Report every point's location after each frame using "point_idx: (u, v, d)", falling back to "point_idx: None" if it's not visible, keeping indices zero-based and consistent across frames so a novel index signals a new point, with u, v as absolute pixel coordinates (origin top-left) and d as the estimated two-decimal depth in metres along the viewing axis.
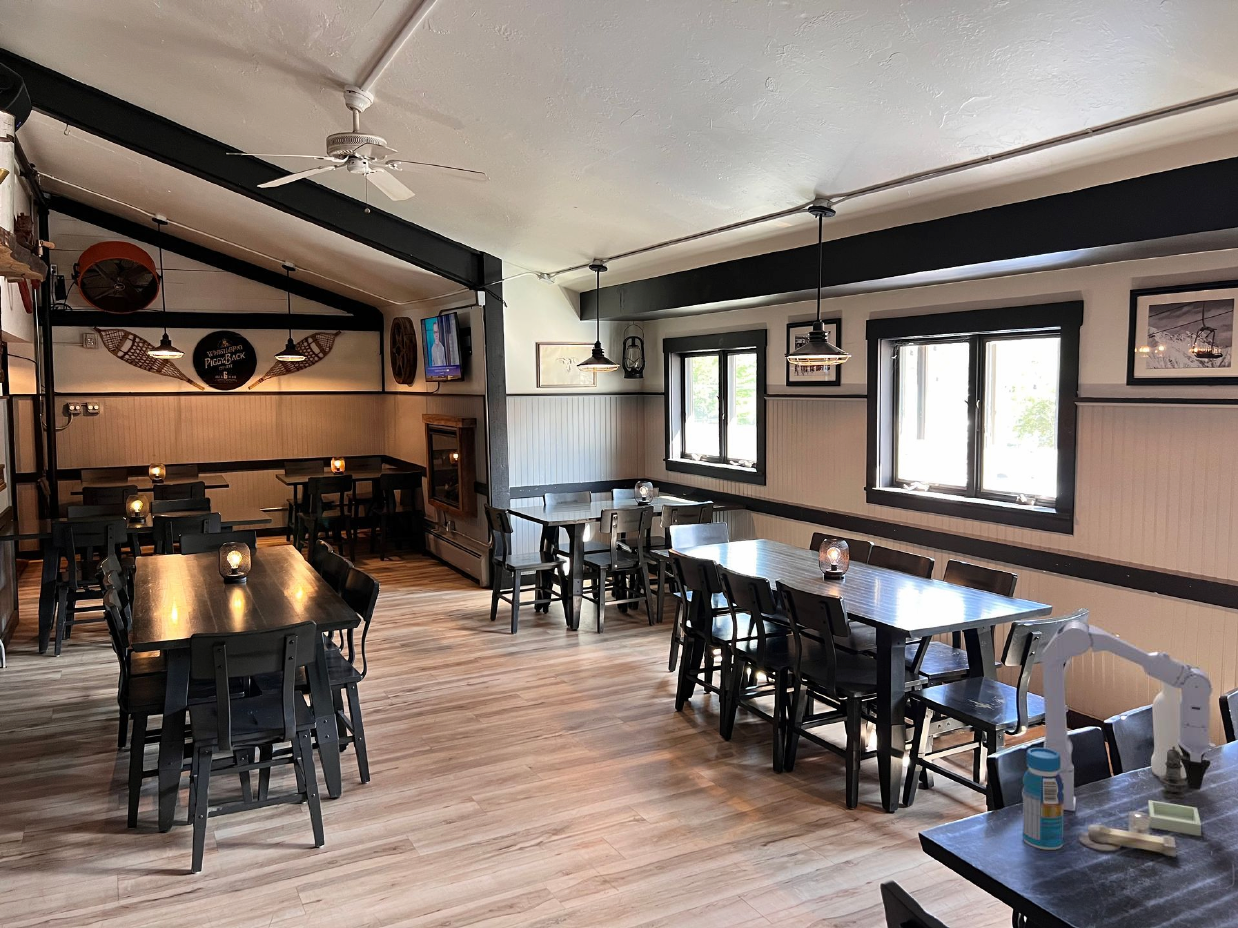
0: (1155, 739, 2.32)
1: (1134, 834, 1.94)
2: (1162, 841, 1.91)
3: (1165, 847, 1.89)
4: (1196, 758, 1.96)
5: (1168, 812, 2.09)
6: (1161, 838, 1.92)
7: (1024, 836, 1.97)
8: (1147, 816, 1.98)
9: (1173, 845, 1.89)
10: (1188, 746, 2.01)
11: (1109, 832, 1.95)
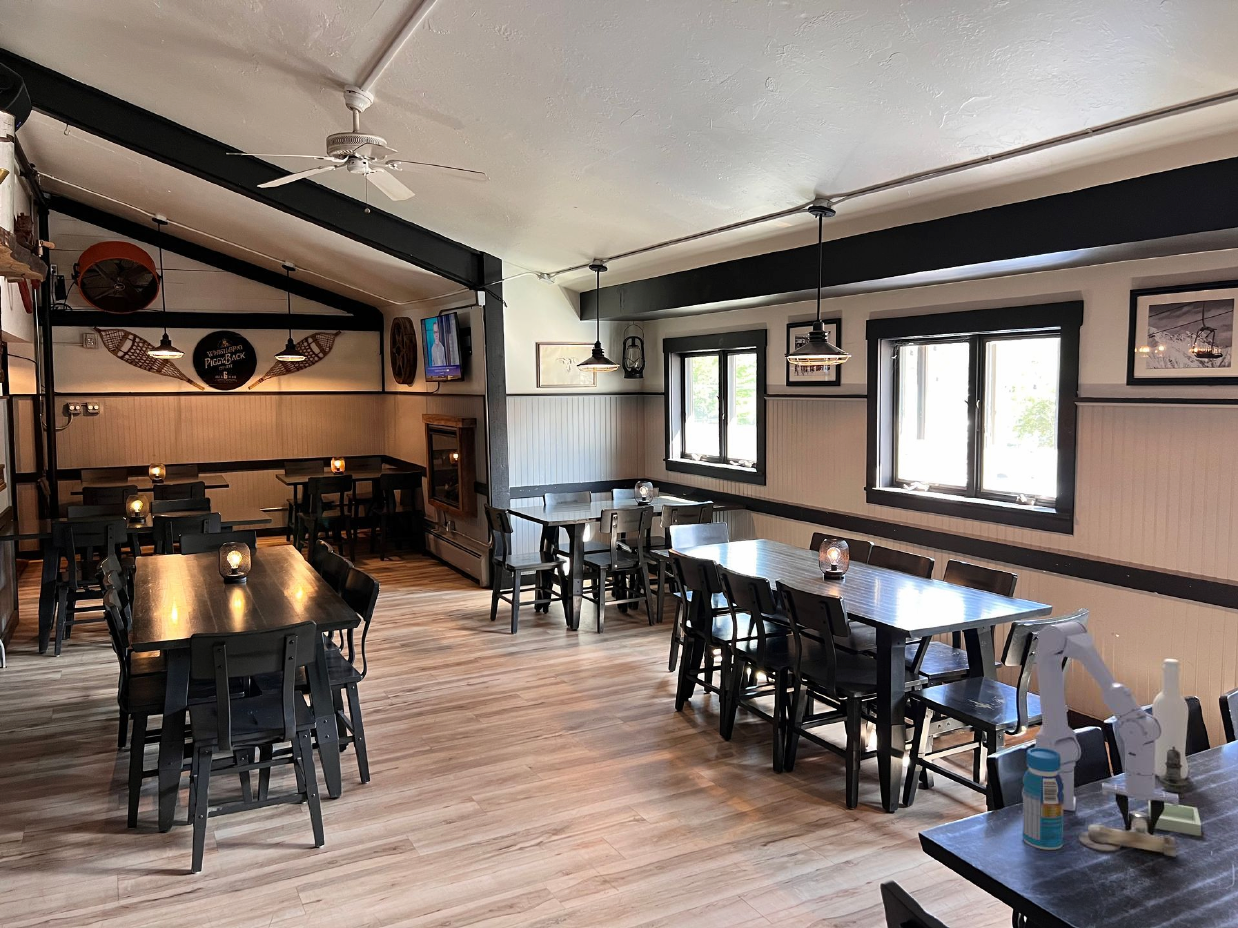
0: None
1: (1134, 834, 1.94)
2: (1162, 841, 1.91)
3: (1165, 847, 1.89)
4: (1102, 789, 2.02)
5: (1168, 812, 2.09)
6: (1161, 838, 1.92)
7: (1024, 836, 1.97)
8: (1147, 816, 1.98)
9: (1173, 845, 1.89)
10: (1124, 786, 2.01)
11: (1109, 832, 1.95)
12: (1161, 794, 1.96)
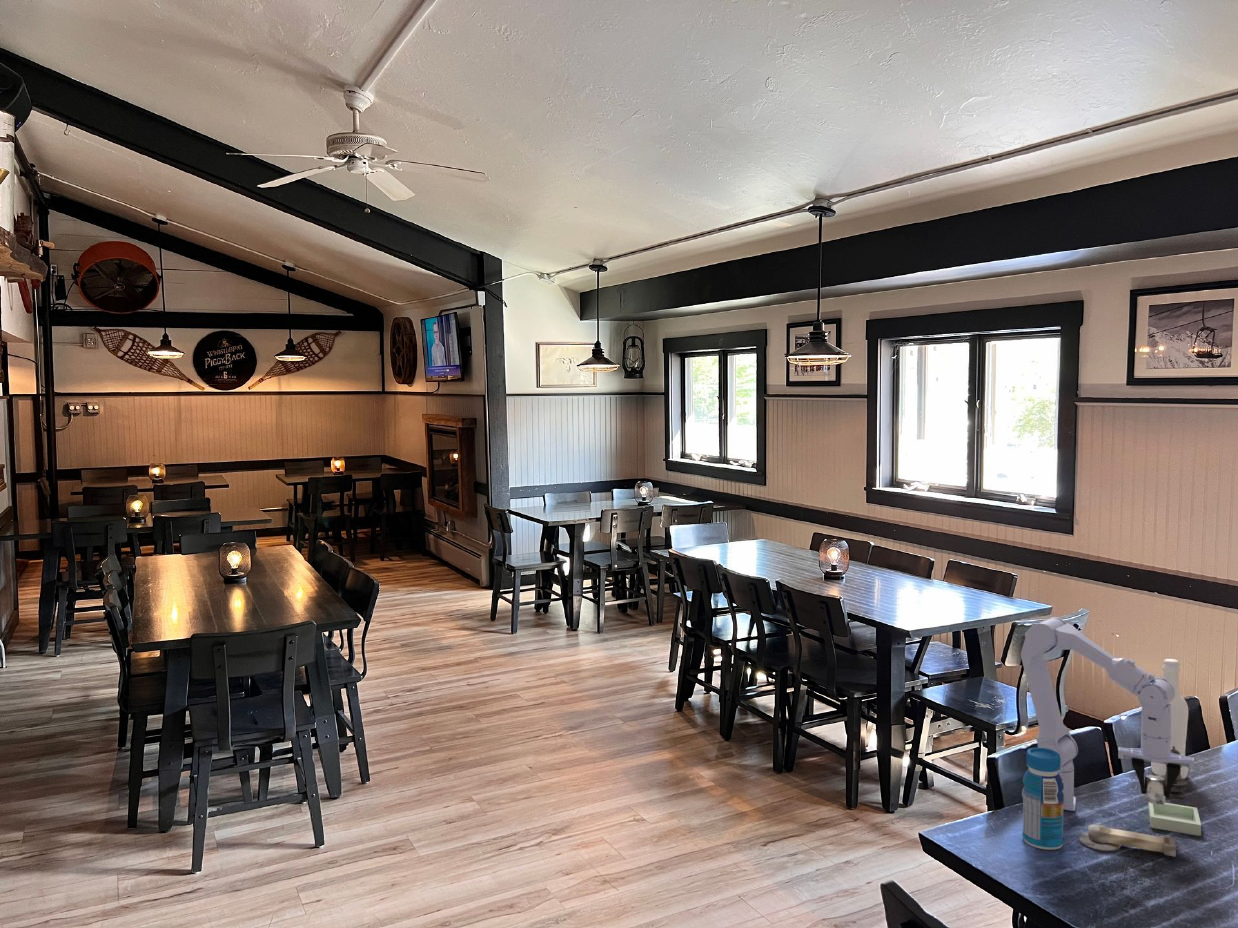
0: None
1: (1134, 834, 1.94)
2: (1162, 841, 1.91)
3: (1165, 847, 1.89)
4: (1118, 753, 2.04)
5: (1168, 812, 2.09)
6: (1161, 838, 1.92)
7: (1024, 836, 1.97)
8: (1163, 779, 2.00)
9: (1173, 845, 1.89)
10: (1140, 750, 2.03)
11: (1109, 832, 1.95)
12: (1177, 757, 1.99)
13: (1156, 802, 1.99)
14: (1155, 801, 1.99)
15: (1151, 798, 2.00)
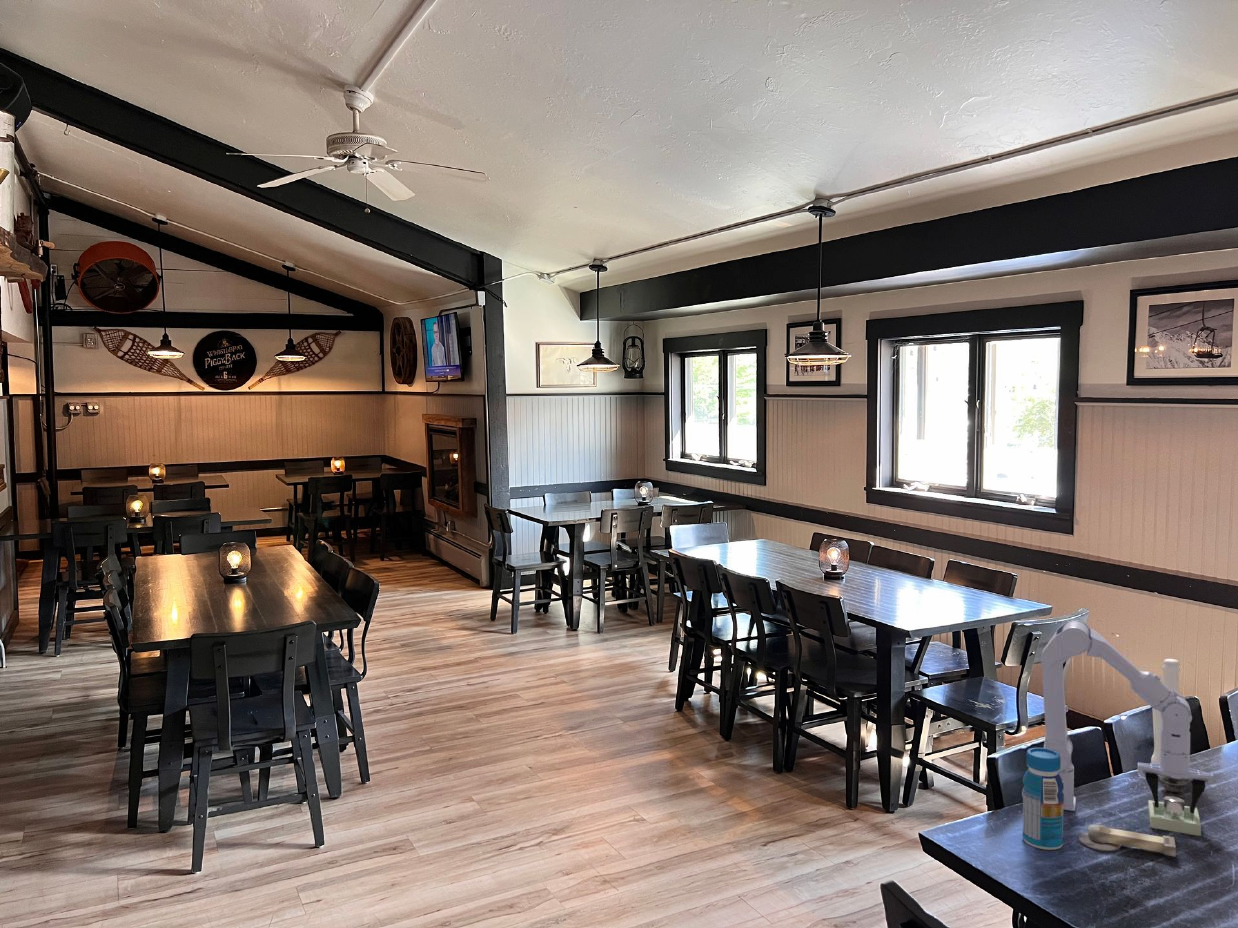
0: (1155, 739, 2.32)
1: (1134, 834, 1.94)
2: (1162, 841, 1.91)
3: (1165, 847, 1.89)
4: None
5: None
6: (1161, 838, 1.92)
7: (1024, 836, 1.97)
8: (1182, 801, 2.04)
9: (1173, 845, 1.89)
10: (1159, 766, 2.07)
11: (1109, 832, 1.95)
12: (1196, 773, 2.03)
13: None
14: None
15: None
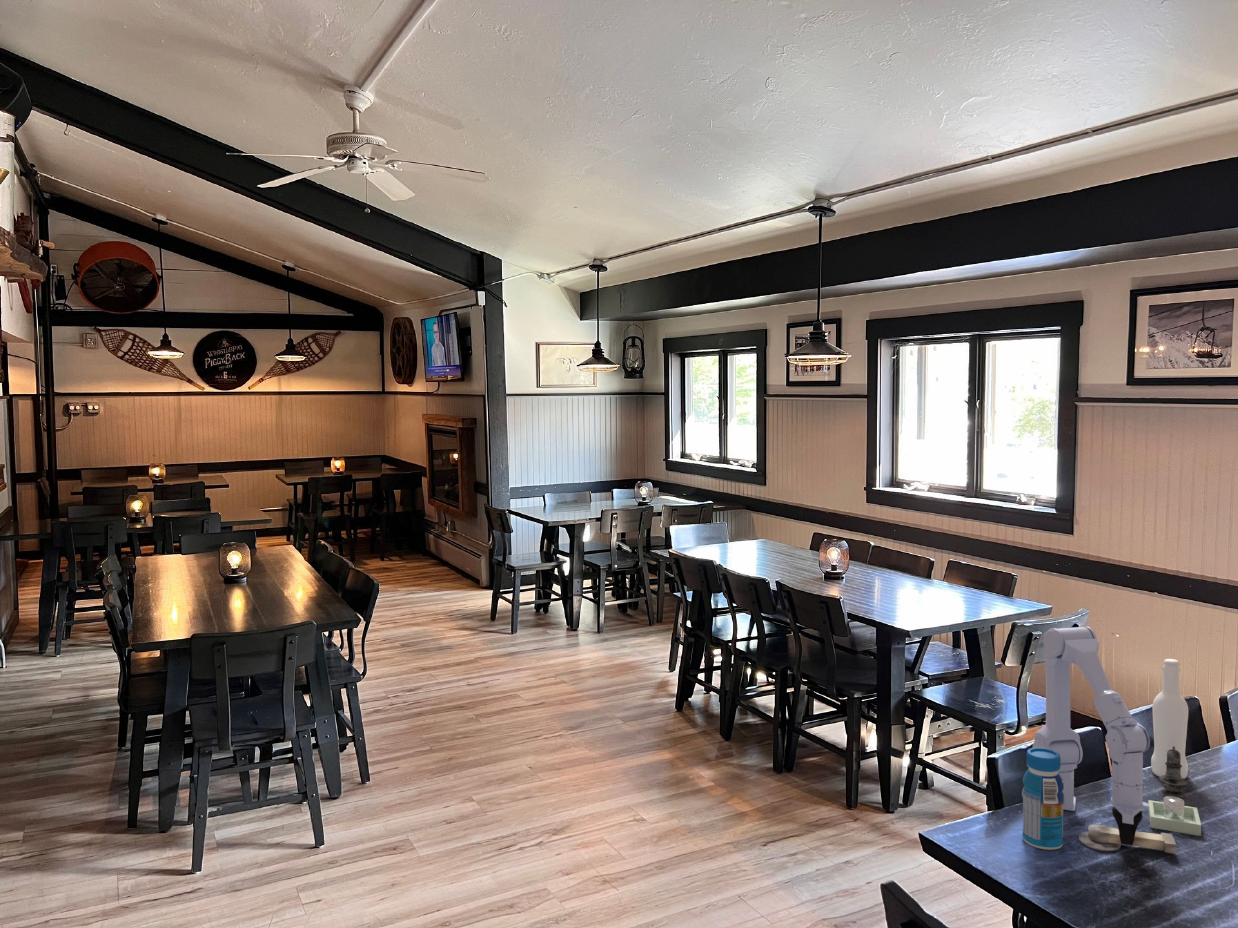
0: (1155, 739, 2.32)
1: None
2: (1162, 839, 1.92)
3: (1166, 845, 1.90)
4: (1128, 820, 1.86)
5: None
6: (1160, 836, 1.93)
7: (1024, 836, 1.97)
8: (1182, 801, 2.04)
9: (1173, 842, 1.90)
10: (1121, 806, 1.91)
11: (1109, 832, 1.95)
12: None
13: None
14: None
15: None
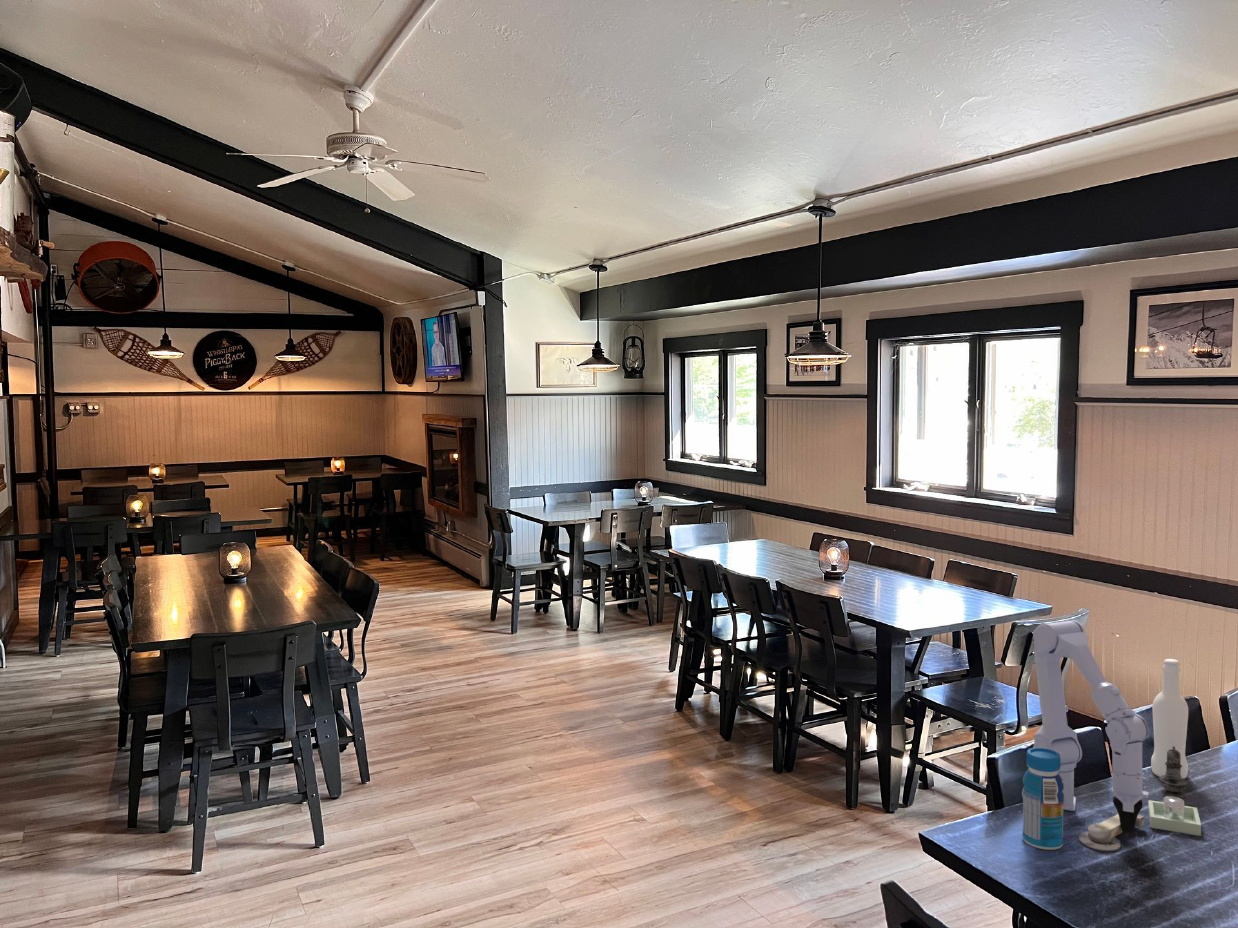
0: (1155, 739, 2.32)
1: (1113, 820, 2.01)
2: None
3: (1139, 820, 2.01)
4: (1129, 808, 1.91)
5: None
6: None
7: (1024, 836, 1.97)
8: (1182, 801, 2.04)
9: (1139, 815, 2.03)
10: (1121, 795, 1.96)
11: (1108, 828, 1.97)
12: None
13: None
14: None
15: None
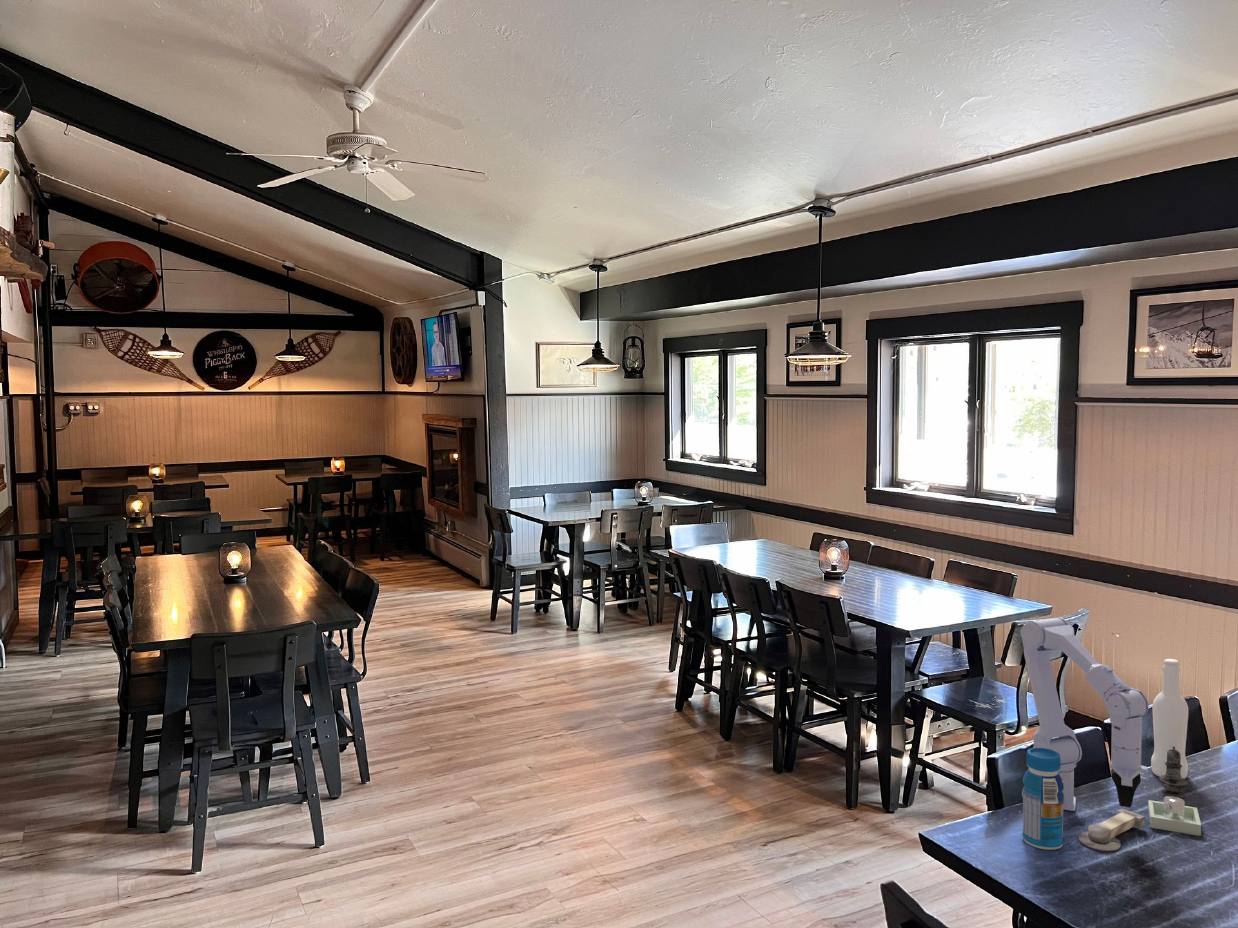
0: (1155, 739, 2.32)
1: (1114, 820, 2.01)
2: (1131, 816, 2.03)
3: (1139, 820, 2.01)
4: (1127, 782, 1.92)
5: None
6: (1125, 814, 2.04)
7: (1024, 836, 1.97)
8: (1182, 801, 2.04)
9: (1140, 815, 2.03)
10: (1120, 769, 1.96)
11: (1108, 828, 1.97)
12: None
13: None
14: None
15: None
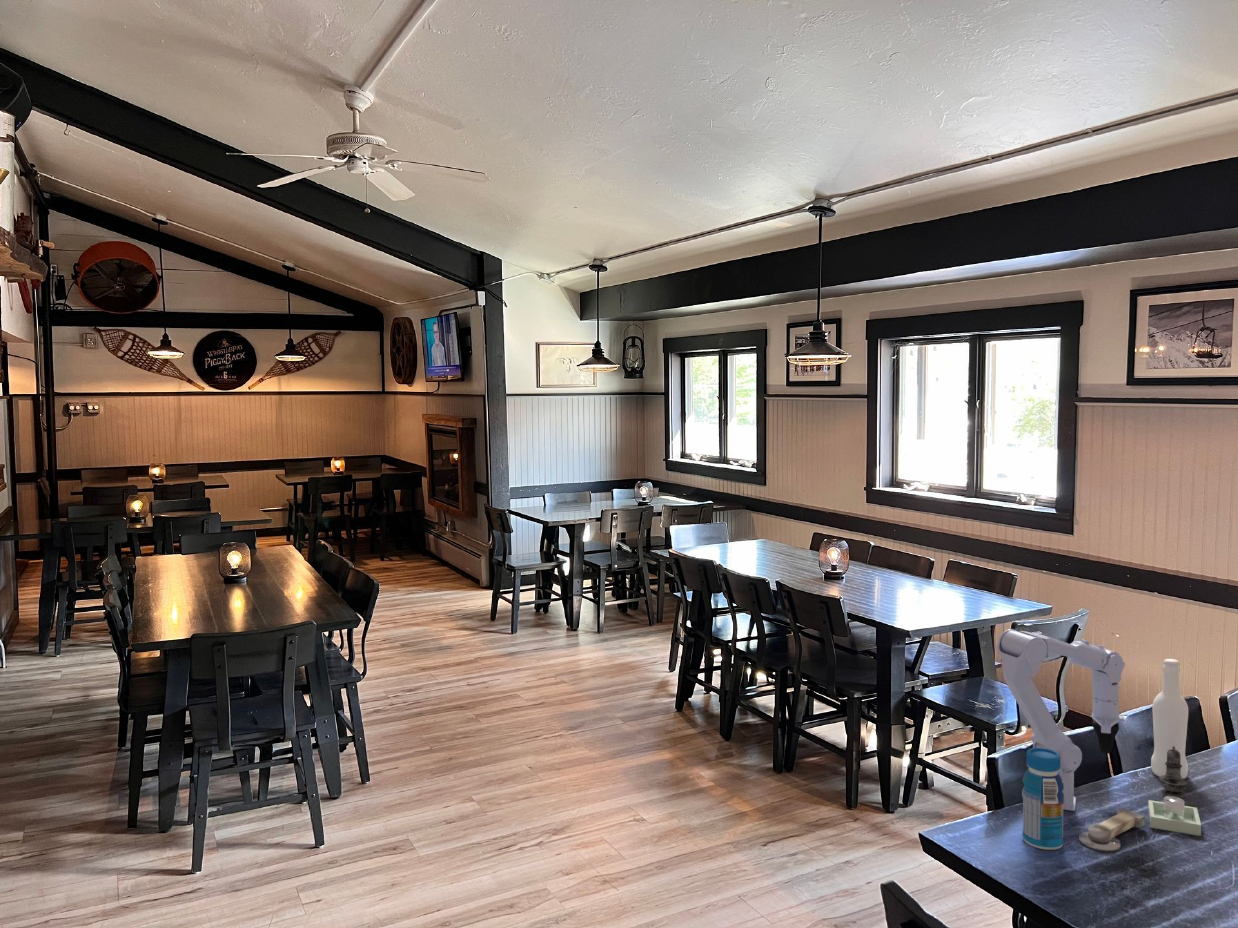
0: (1155, 739, 2.32)
1: (1114, 820, 2.01)
2: (1131, 816, 2.03)
3: (1139, 820, 2.01)
4: (1106, 730, 2.14)
5: None
6: (1125, 814, 2.04)
7: (1024, 836, 1.97)
8: (1182, 801, 2.04)
9: (1140, 815, 2.03)
10: (1100, 719, 2.18)
11: (1108, 828, 1.97)
12: None
13: None
14: None
15: None
